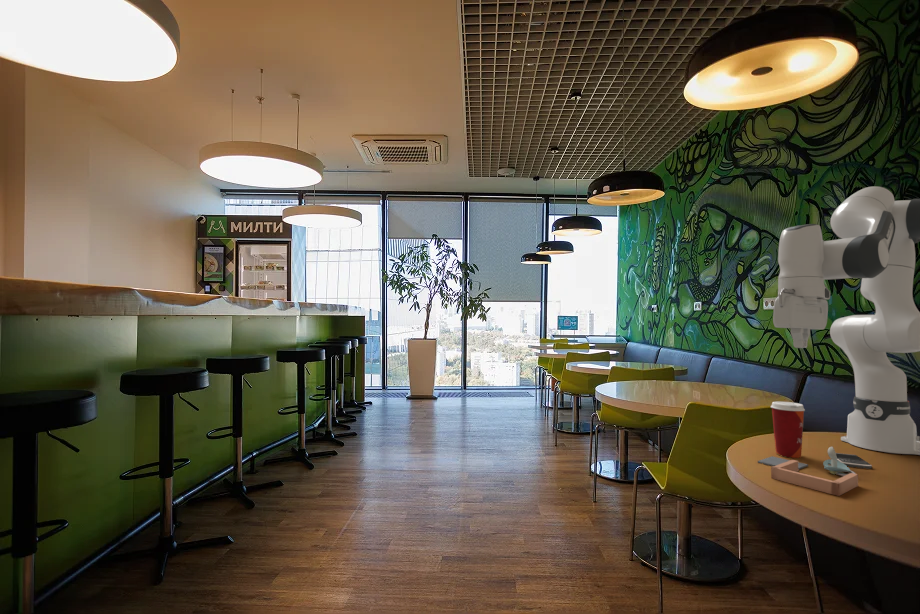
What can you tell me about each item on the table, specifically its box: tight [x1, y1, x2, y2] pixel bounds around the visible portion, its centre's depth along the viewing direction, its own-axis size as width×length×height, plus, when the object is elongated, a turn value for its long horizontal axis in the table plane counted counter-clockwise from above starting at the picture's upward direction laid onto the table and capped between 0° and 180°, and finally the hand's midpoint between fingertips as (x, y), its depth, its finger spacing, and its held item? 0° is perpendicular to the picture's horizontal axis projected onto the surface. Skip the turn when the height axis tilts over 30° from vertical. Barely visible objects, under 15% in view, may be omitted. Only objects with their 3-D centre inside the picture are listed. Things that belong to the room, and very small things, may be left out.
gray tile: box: [757, 455, 809, 471], centre depth 113 cm, size 8×8×1 cm
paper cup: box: [770, 401, 806, 459], centre depth 122 cm, size 8×8×14 cm
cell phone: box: [835, 452, 873, 470], centre depth 116 cm, size 6×11×1 cm, turn 156°
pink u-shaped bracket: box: [770, 459, 859, 497], centre depth 101 cm, size 11×12×2 cm
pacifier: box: [822, 446, 857, 477], centre depth 107 cm, size 7×6×6 cm
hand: (800, 347), depth 107 cm, fingers closed
